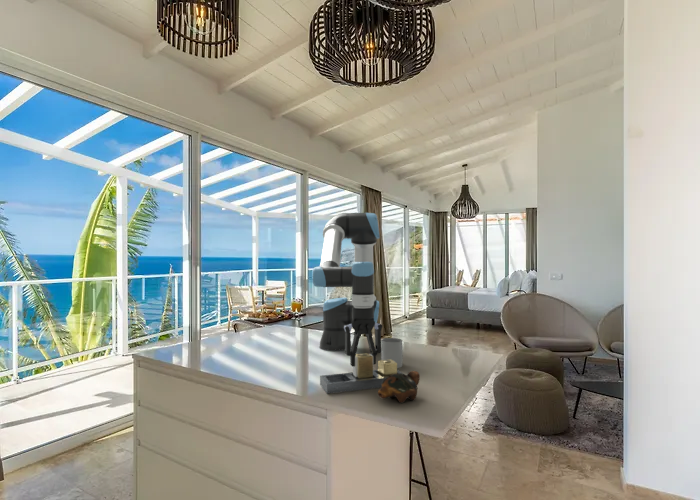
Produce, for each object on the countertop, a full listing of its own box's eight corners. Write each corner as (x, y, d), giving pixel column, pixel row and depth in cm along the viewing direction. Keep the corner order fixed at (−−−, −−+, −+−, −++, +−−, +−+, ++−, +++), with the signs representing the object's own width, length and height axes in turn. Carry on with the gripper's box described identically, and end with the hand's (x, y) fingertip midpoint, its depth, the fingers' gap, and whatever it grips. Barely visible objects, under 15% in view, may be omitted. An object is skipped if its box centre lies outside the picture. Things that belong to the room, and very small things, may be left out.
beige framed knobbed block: (378, 380, 139) (378, 359, 139) (391, 379, 141) (391, 358, 141) (383, 384, 134) (383, 363, 135) (397, 383, 136) (397, 362, 136)
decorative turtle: (429, 398, 122) (428, 372, 121) (392, 413, 113) (391, 386, 113) (407, 388, 130) (406, 364, 129) (371, 401, 121) (370, 375, 120)
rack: (320, 384, 135) (320, 375, 135) (394, 376, 144) (394, 368, 144) (327, 393, 126) (327, 384, 126) (406, 384, 135) (406, 375, 135)
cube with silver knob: (354, 374, 136) (353, 353, 136) (367, 373, 138) (367, 352, 138) (358, 378, 132) (358, 356, 132) (372, 377, 133) (372, 355, 133)
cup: (401, 368, 153) (401, 342, 154) (380, 367, 155) (380, 342, 155) (403, 362, 162) (402, 338, 162) (383, 361, 163) (382, 337, 163)
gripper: (340, 309, 129) (341, 380, 129) (391, 306, 134) (391, 375, 134) (334, 306, 136) (334, 374, 136) (383, 304, 142) (383, 369, 141)
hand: (363, 374), depth 135 cm, fingers closed on cube with silver knob, 5 cm apart
